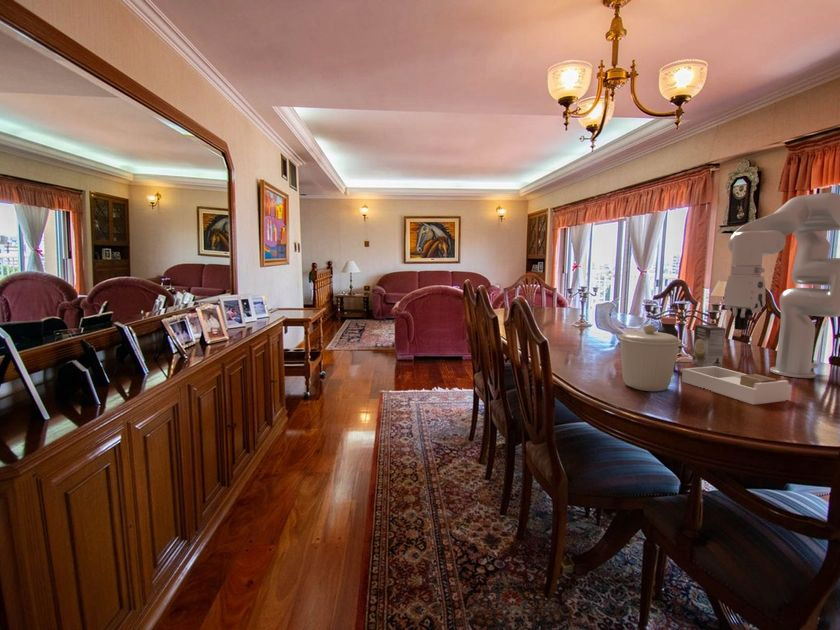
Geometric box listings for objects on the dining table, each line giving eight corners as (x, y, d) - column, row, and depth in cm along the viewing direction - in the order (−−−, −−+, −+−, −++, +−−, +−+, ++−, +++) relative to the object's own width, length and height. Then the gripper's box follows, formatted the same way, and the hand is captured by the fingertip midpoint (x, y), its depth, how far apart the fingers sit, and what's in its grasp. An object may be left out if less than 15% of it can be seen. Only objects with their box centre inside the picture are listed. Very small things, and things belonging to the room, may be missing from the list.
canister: (644, 398, 125) (649, 329, 123) (603, 381, 143) (606, 321, 140) (691, 393, 130) (697, 327, 128) (646, 377, 148) (650, 319, 145)
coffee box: (690, 363, 168) (694, 324, 165) (706, 363, 167) (710, 324, 165) (706, 369, 158) (709, 328, 156) (722, 369, 158) (726, 328, 156)
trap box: (713, 378, 146) (715, 361, 145) (788, 400, 123) (791, 380, 122) (681, 381, 143) (683, 364, 142) (753, 404, 120) (755, 384, 119)
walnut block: (754, 385, 128) (755, 374, 128) (775, 390, 123) (776, 379, 122) (739, 386, 127) (740, 375, 126) (760, 392, 121) (761, 380, 121)
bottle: (669, 366, 162) (673, 316, 159) (678, 371, 155) (683, 319, 153) (651, 366, 163) (655, 316, 160) (659, 371, 156) (663, 318, 154)
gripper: (780, 271, 123) (774, 332, 125) (731, 270, 137) (727, 324, 140) (761, 272, 121) (755, 334, 123) (713, 271, 135) (709, 326, 138)
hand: (740, 329), depth 132 cm, fingers closed
